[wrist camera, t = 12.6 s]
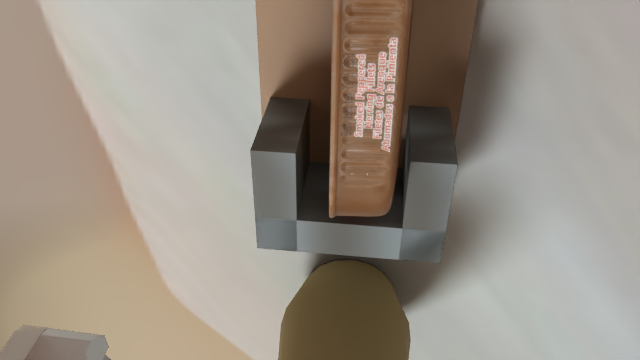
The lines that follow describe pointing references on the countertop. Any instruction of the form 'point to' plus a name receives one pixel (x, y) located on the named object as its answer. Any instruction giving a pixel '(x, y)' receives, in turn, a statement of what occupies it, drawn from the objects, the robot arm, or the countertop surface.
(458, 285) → the countertop surface
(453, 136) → the stand
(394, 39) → the tin
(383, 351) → the squeeze bottle
